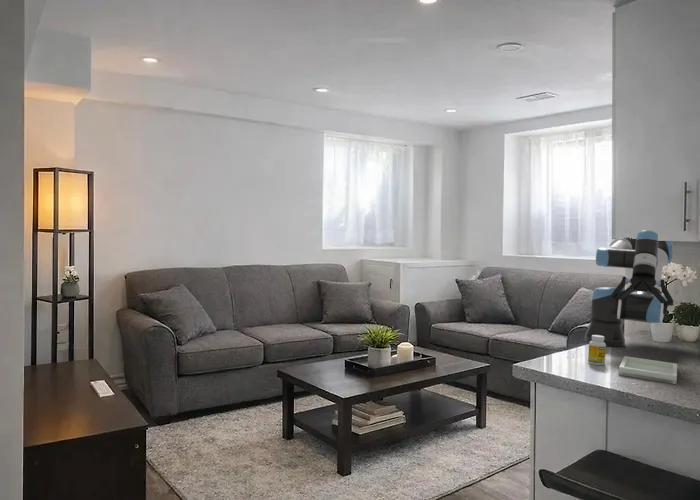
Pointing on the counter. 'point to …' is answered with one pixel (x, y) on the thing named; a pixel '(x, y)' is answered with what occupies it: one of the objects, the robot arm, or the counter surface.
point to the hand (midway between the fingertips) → (639, 319)
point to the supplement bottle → (597, 350)
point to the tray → (648, 369)
